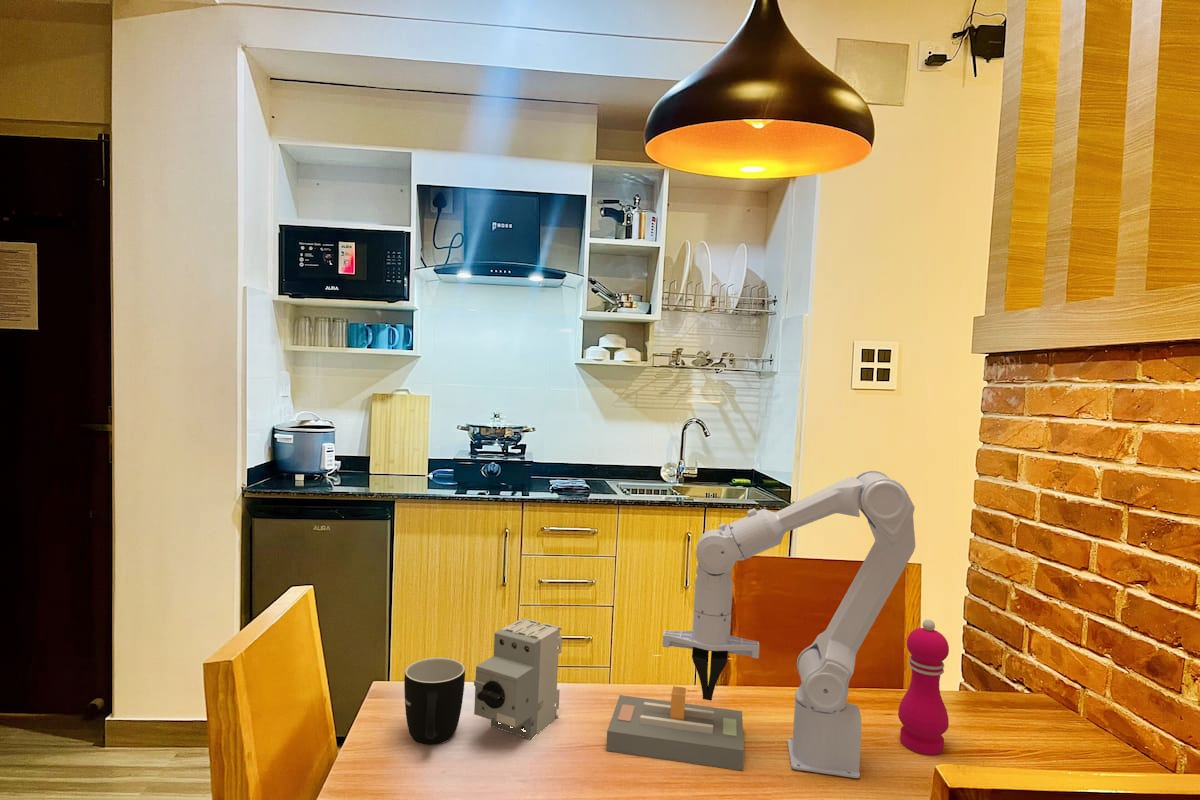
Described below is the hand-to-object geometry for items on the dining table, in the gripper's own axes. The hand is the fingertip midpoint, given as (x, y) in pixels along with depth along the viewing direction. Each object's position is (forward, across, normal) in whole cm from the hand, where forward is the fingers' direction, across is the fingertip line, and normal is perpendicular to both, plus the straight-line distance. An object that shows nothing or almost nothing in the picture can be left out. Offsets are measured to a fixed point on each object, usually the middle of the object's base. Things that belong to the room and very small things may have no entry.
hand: (707, 697), depth 105 cm
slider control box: (+7, +4, 0) cm, 9 cm away
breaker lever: (+4, +4, 0) cm, 6 cm away
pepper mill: (+7, -34, -9) cm, 36 cm away
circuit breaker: (+8, +29, +4) cm, 31 cm away
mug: (+8, +40, +10) cm, 42 cm away
